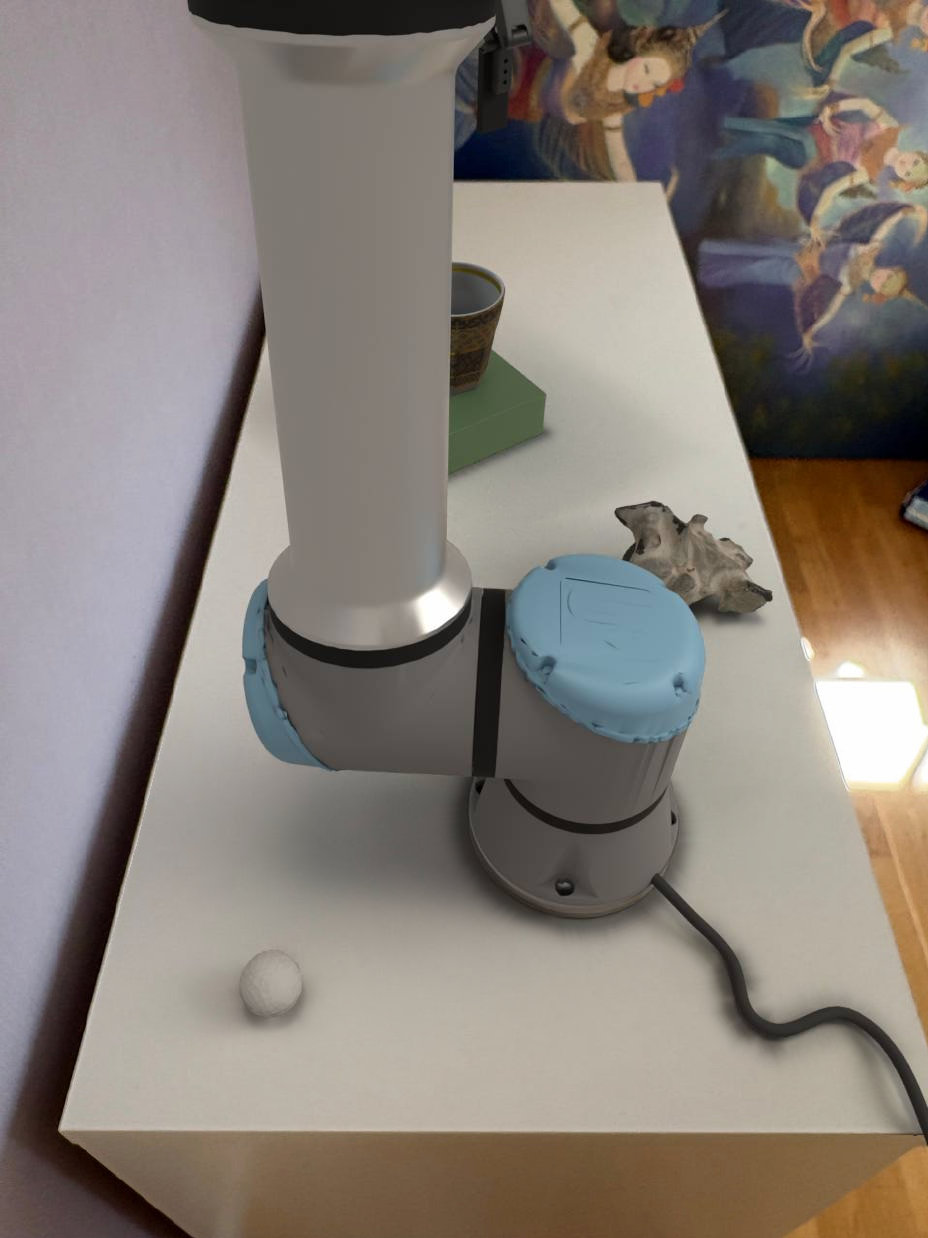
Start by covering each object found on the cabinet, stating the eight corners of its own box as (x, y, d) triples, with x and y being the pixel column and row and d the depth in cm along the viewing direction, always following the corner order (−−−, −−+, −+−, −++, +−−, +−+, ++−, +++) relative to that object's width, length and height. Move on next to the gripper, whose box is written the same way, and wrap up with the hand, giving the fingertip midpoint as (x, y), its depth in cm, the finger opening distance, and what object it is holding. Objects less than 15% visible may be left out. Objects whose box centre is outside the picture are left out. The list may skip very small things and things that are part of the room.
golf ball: (233, 1013, 62) (222, 991, 59) (261, 956, 64) (252, 931, 61) (289, 1035, 61) (281, 1013, 58) (316, 975, 63) (309, 952, 60)
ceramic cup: (424, 340, 103) (423, 253, 96) (513, 359, 101) (518, 272, 94) (377, 409, 95) (371, 319, 88) (471, 432, 93) (474, 342, 86)
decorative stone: (779, 625, 80) (688, 673, 87) (779, 553, 86) (695, 604, 93) (645, 511, 75) (559, 572, 82) (655, 444, 81) (575, 505, 88)
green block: (542, 432, 101) (546, 393, 98) (423, 485, 96) (423, 445, 92) (461, 363, 109) (462, 324, 106) (347, 408, 104) (344, 368, 100)
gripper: (597, -179, 65) (566, 142, 81) (401, -236, 78) (407, 50, 94) (508, -168, 62) (495, 164, 78) (320, -229, 76) (341, 65, 92)
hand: (447, 102), depth 86 cm, fingers open, 13 cm apart
